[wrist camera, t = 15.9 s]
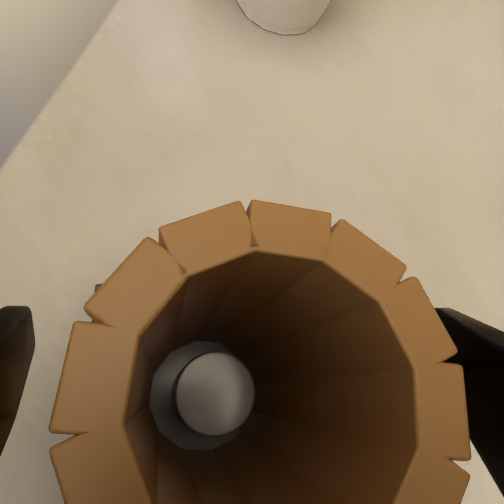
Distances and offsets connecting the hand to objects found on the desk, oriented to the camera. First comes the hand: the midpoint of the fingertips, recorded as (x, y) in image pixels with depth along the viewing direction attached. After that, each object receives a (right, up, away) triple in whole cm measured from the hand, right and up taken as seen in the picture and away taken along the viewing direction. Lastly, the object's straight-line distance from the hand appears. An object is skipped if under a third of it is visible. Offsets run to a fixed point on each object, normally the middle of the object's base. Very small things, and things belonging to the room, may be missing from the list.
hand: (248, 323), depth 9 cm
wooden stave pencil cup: (-2, -5, +9) cm, 11 cm away
